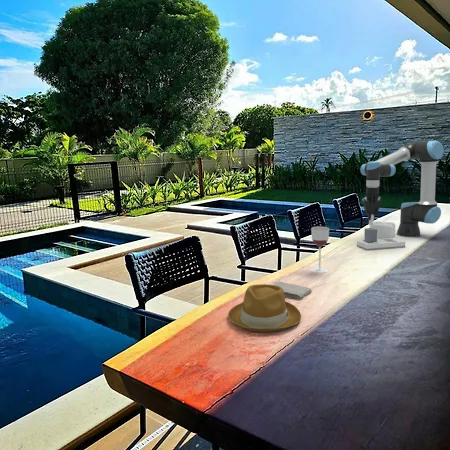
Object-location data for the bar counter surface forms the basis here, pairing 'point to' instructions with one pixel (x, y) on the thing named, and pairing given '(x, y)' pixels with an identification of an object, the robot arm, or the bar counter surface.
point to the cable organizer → (384, 229)
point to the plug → (370, 235)
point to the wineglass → (320, 243)
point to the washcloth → (293, 290)
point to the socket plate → (381, 244)
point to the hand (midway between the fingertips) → (371, 224)
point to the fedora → (264, 310)
